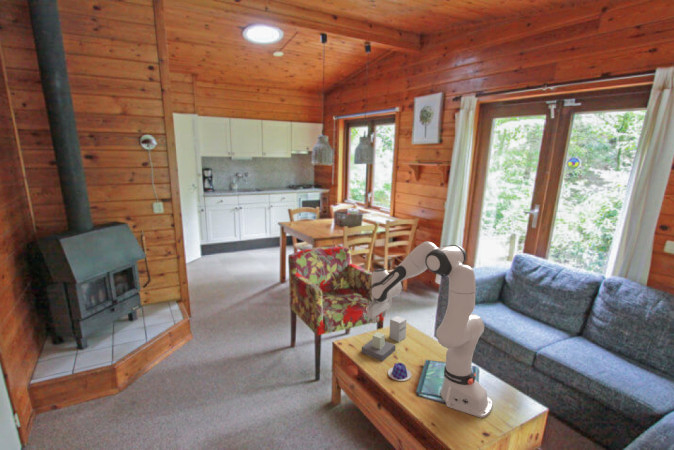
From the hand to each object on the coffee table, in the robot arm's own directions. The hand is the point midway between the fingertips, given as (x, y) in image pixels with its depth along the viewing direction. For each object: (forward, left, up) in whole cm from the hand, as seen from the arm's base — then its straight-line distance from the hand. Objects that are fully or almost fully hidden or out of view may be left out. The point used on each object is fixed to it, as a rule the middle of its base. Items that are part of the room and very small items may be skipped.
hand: (379, 319), depth 195 cm
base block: (0, 0, -20) cm, 20 cm away
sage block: (0, 0, -16) cm, 16 cm away
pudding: (-20, +11, -20) cm, 31 cm away
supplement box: (-1, -20, -20) cm, 28 cm away
